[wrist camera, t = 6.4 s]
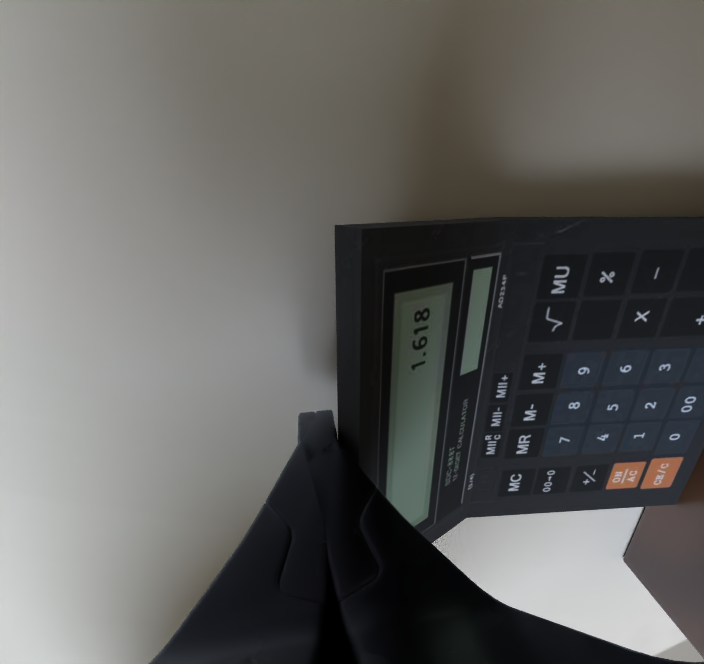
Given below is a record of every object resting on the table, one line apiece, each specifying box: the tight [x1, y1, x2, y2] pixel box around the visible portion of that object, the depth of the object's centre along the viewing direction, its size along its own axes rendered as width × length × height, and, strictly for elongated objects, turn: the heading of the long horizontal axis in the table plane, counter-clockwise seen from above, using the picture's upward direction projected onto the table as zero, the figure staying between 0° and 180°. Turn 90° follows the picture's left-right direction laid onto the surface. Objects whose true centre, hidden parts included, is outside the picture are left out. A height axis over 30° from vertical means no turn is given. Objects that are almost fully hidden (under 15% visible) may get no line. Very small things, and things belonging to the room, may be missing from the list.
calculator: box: [335, 217, 704, 543], centre depth 9 cm, size 9×12×3 cm
